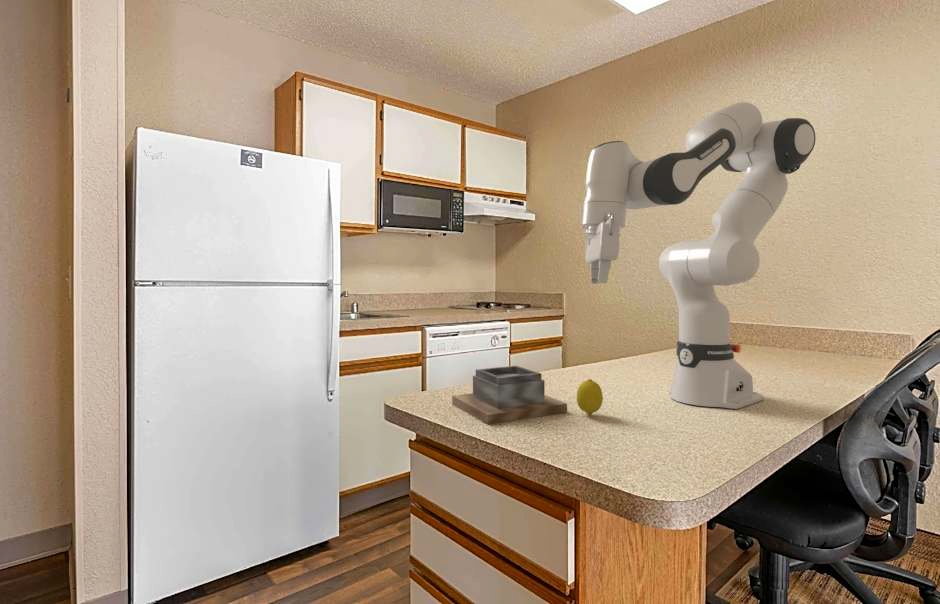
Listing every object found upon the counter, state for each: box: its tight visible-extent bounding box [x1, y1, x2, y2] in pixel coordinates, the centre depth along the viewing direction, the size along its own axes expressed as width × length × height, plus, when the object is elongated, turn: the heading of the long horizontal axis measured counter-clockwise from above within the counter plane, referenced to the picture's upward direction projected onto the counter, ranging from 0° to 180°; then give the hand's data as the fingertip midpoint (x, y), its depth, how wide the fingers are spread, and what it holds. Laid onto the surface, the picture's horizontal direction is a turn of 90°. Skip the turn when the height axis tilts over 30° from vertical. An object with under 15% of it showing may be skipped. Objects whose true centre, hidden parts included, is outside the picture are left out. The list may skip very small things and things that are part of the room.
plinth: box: [451, 365, 568, 425], centre depth 114 cm, size 20×18×8 cm
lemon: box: [576, 378, 604, 416], centre depth 108 cm, size 6×6×8 cm
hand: (598, 283), depth 106 cm, fingers open, 8 cm apart
